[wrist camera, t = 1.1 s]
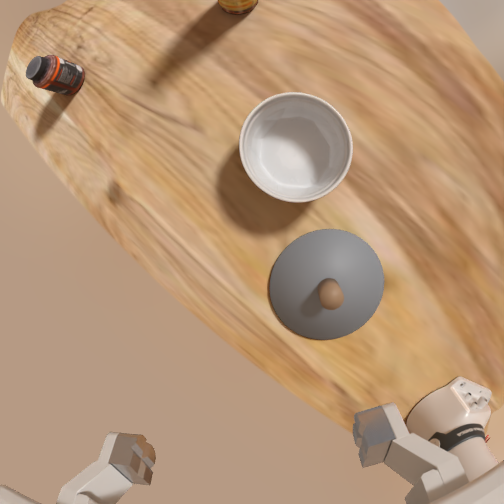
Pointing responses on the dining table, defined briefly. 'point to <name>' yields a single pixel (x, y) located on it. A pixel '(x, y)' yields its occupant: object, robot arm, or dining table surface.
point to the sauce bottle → (237, 5)
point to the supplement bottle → (55, 74)
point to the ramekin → (295, 147)
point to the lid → (326, 284)
